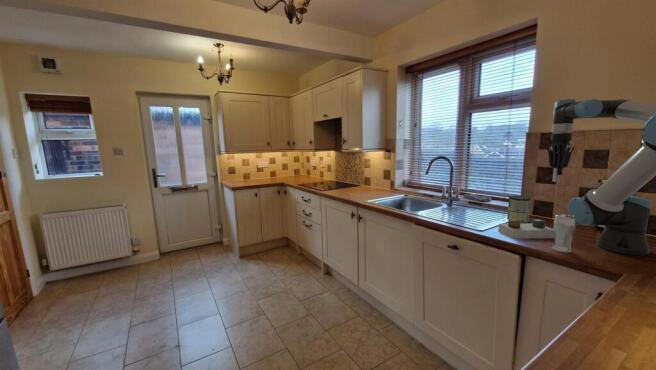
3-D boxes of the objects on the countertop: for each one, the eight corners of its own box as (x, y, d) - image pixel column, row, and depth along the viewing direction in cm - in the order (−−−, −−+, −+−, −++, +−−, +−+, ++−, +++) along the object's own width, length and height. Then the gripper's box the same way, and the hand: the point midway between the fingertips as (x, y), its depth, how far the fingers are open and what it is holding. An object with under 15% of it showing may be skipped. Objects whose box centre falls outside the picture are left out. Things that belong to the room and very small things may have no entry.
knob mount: (554, 238, 126) (555, 230, 126) (512, 238, 127) (513, 230, 126) (537, 230, 137) (538, 223, 137) (498, 231, 138) (499, 223, 137)
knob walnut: (522, 233, 130) (523, 221, 129) (511, 233, 130) (512, 221, 129) (515, 230, 135) (516, 219, 134) (505, 230, 135) (506, 219, 134)
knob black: (546, 233, 129) (548, 221, 128) (536, 233, 129) (537, 221, 129) (539, 230, 134) (540, 218, 133) (529, 230, 134) (530, 218, 134)
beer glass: (550, 250, 112) (554, 216, 110) (551, 245, 117) (555, 212, 115) (572, 254, 108) (577, 219, 105) (572, 249, 113) (577, 215, 110)
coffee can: (503, 217, 162) (505, 195, 160) (521, 218, 161) (523, 195, 159) (513, 222, 152) (515, 198, 150) (532, 223, 151) (535, 198, 149)
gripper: (582, 132, 121) (576, 183, 124) (557, 133, 134) (552, 179, 137) (565, 132, 121) (560, 183, 124) (543, 133, 134) (538, 179, 137)
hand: (556, 181), depth 131 cm, fingers closed
